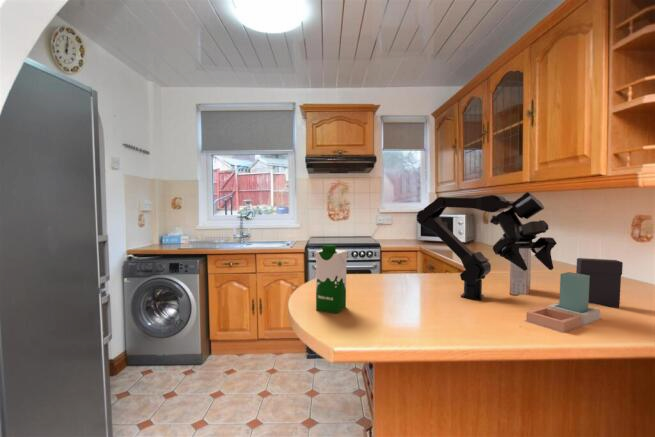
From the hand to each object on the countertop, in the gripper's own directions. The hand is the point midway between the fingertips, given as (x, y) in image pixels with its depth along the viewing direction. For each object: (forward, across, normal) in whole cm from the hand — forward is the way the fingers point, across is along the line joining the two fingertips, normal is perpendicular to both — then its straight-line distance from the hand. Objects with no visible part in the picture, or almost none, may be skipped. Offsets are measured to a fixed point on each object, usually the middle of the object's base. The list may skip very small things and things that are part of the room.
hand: (539, 269), depth 94 cm
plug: (+12, +8, +5) cm, 16 cm away
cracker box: (-6, +17, +27) cm, 32 cm away
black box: (+7, +30, +13) cm, 33 cm away
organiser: (+14, +3, +5) cm, 15 cm away
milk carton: (-2, -57, +25) cm, 62 cm away
